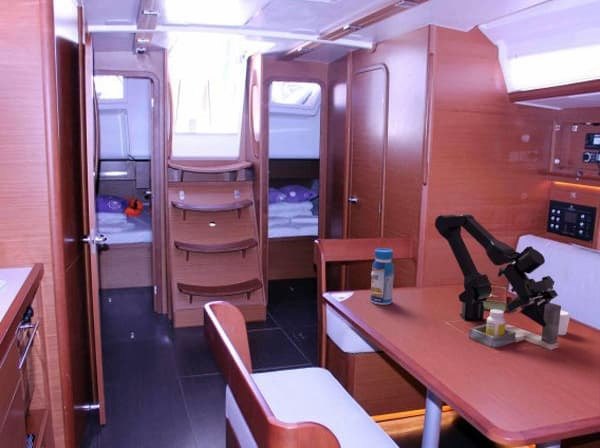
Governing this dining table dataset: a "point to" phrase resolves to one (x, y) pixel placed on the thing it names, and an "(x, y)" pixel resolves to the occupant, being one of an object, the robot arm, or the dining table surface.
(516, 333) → the tray with upright post
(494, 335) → the supplement bottle
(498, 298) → the hardcover book
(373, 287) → the beverage bottle
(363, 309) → the dining table surface
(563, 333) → the shot glass
